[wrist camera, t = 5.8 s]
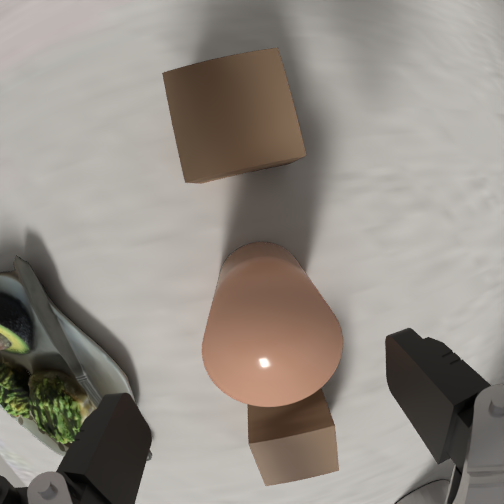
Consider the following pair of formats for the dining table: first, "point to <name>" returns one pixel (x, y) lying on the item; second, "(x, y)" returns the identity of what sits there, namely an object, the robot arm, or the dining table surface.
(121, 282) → the dining table surface
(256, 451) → the back walnut cube
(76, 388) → the salad plate
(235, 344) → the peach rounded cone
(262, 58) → the front walnut cube
